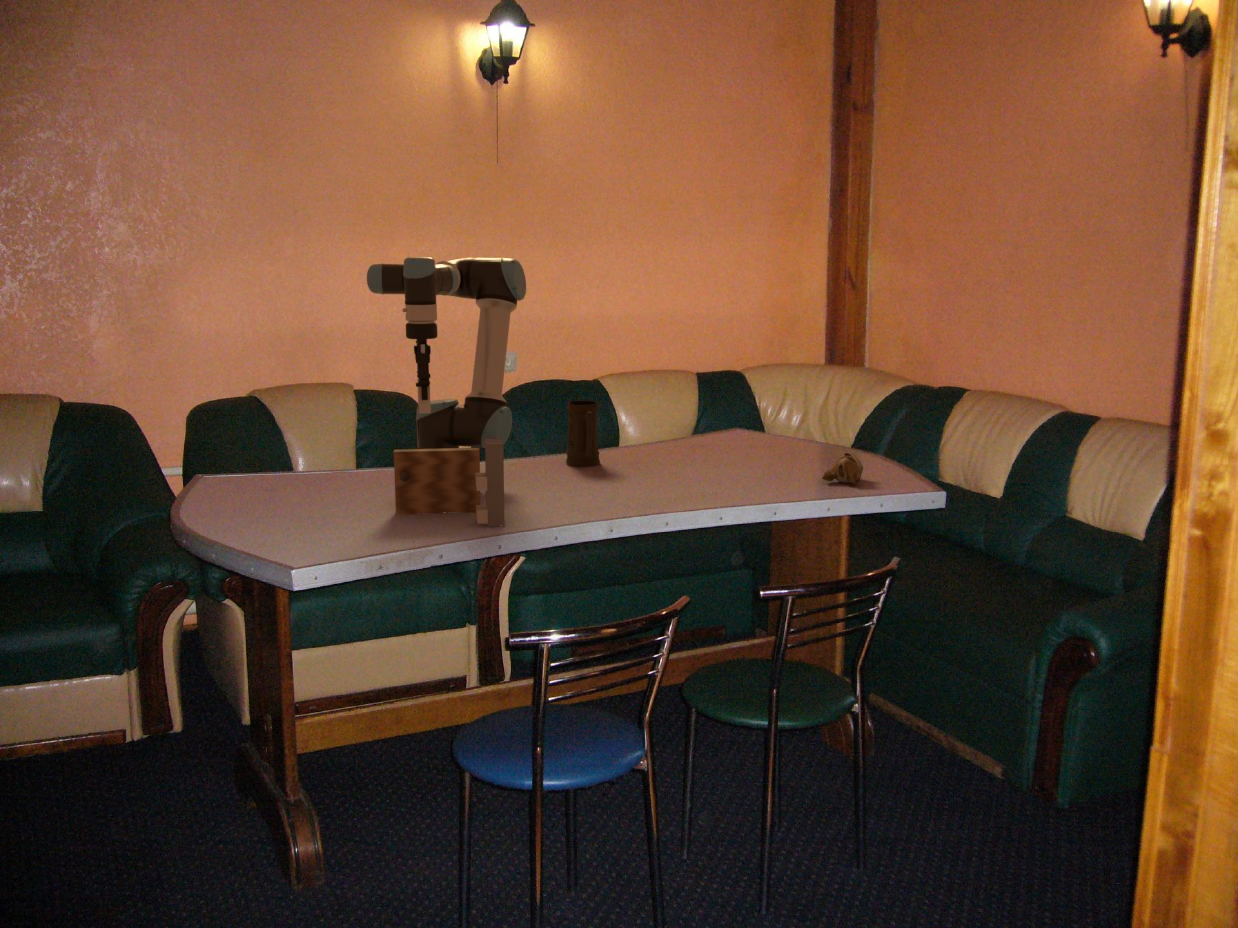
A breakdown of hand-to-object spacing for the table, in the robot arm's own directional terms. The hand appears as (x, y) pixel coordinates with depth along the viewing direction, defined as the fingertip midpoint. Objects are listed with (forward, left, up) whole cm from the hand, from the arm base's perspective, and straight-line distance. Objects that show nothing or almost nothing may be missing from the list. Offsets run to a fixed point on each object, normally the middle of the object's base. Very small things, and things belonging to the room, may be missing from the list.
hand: (424, 408), depth 263 cm
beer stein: (-73, +1, -27) cm, 78 cm away
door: (-3, +1, -27) cm, 27 cm away
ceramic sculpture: (-93, +77, -27) cm, 123 cm away
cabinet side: (0, +19, -26) cm, 33 cm away
